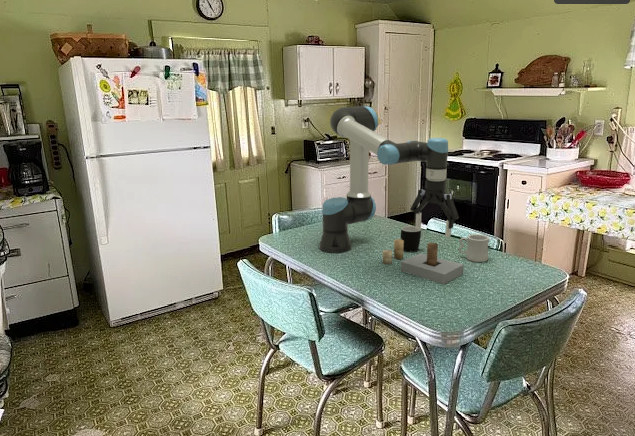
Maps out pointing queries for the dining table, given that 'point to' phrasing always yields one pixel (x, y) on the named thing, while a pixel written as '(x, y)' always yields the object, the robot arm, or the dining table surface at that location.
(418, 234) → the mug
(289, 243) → the dining table surface
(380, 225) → the dining table surface
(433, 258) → the long pin
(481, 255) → the mug
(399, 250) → the medium pin
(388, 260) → the short pin
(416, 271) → the hole board
